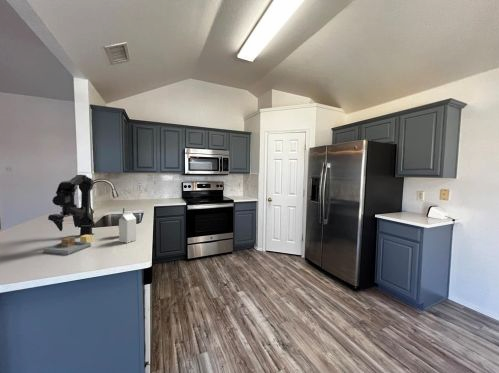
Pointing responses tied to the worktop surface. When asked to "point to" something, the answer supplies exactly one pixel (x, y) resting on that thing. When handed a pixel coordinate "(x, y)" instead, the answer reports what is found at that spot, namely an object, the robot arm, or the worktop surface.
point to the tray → (66, 248)
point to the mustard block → (86, 238)
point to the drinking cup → (120, 216)
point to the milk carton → (127, 228)
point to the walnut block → (68, 241)
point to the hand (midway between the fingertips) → (68, 229)
